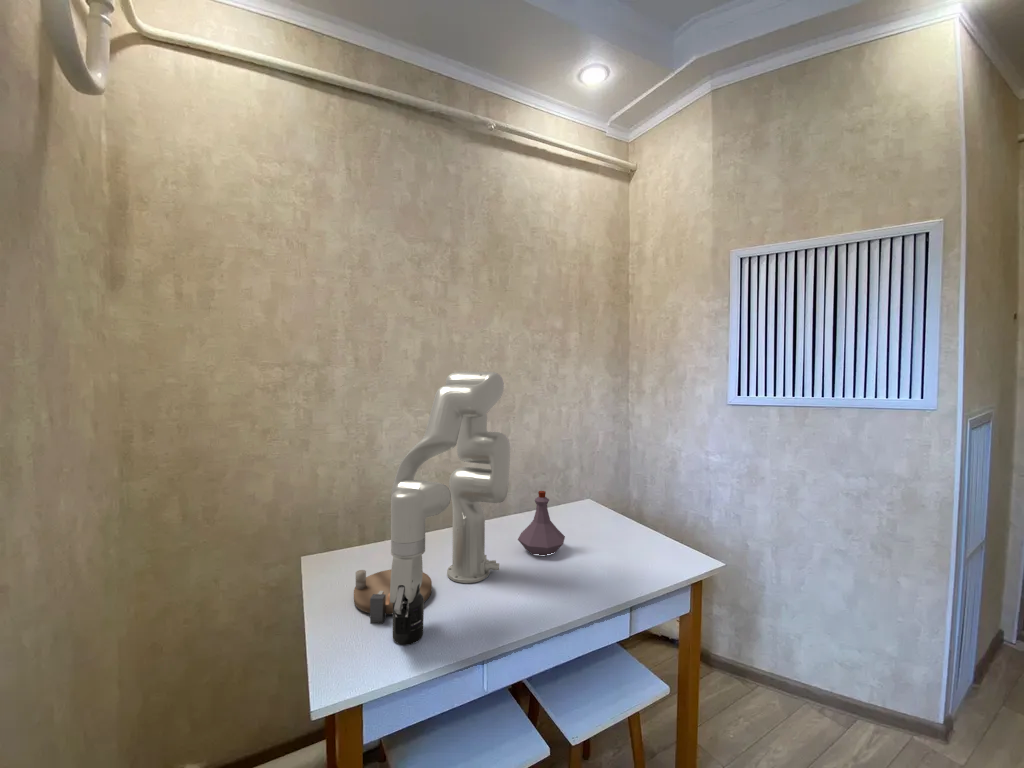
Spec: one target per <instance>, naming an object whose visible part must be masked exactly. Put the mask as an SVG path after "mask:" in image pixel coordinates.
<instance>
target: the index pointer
mask: <svg viewBox="0 0 1024 768" xmlns="http://www.w3.org/2000/svg"><path fill="white" fill-rule="evenodd" d="M386 615H387V614H386V594H384V591H379V593H378V594H373V595H372V597H371V598H370V613H369V619H370V624H381V625H382V624H384V623H385V620H386V618H387V616H386Z"/></svg>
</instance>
